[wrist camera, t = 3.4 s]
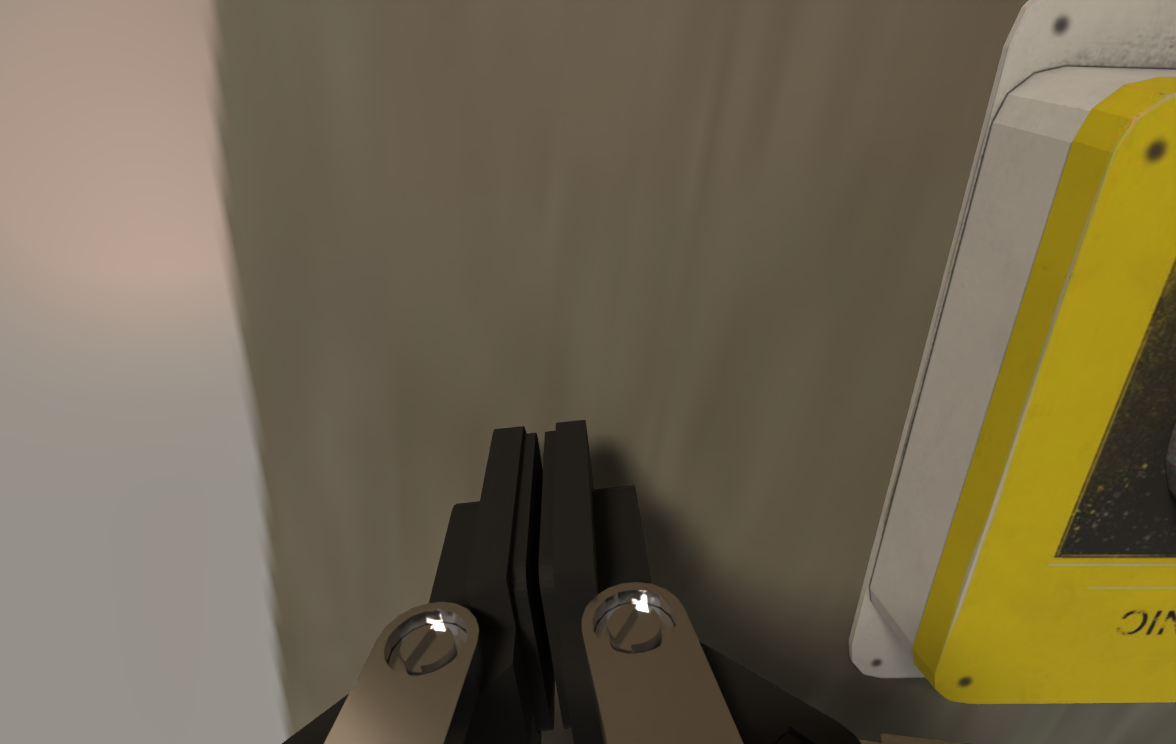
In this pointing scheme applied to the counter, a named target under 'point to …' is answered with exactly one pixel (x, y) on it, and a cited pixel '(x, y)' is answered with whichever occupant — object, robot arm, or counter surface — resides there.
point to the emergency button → (1047, 389)
